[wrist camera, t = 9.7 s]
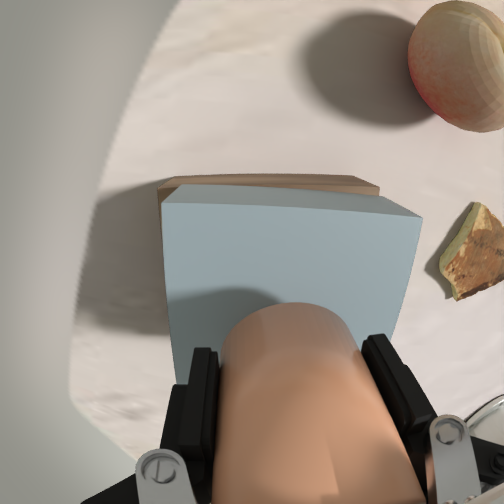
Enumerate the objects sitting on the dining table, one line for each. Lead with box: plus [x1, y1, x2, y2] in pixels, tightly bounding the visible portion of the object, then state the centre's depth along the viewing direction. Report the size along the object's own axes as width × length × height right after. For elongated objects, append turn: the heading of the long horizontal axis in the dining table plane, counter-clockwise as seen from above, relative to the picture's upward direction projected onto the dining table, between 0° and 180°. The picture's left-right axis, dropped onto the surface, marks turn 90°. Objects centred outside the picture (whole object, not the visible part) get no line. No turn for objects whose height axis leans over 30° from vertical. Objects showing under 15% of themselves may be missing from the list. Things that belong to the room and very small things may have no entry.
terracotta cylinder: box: [211, 302, 426, 504], centre depth 8 cm, size 5×5×7 cm
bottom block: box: [157, 174, 380, 245], centre depth 19 cm, size 11×11×4 cm
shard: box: [439, 202, 504, 301], centre depth 21 cm, size 11×8×2 cm
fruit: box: [408, 0, 504, 133], centre depth 12 cm, size 8×8×8 cm
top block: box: [161, 184, 423, 384], centre depth 14 cm, size 10×10×4 cm
